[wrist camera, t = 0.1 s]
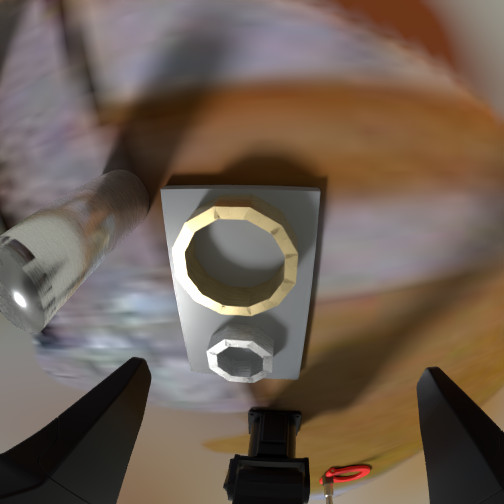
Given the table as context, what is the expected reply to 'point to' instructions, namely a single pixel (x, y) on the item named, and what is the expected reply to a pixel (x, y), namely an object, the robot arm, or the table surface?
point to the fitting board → (245, 270)
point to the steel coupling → (66, 246)
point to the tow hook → (340, 478)
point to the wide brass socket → (218, 293)
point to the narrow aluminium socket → (247, 339)
